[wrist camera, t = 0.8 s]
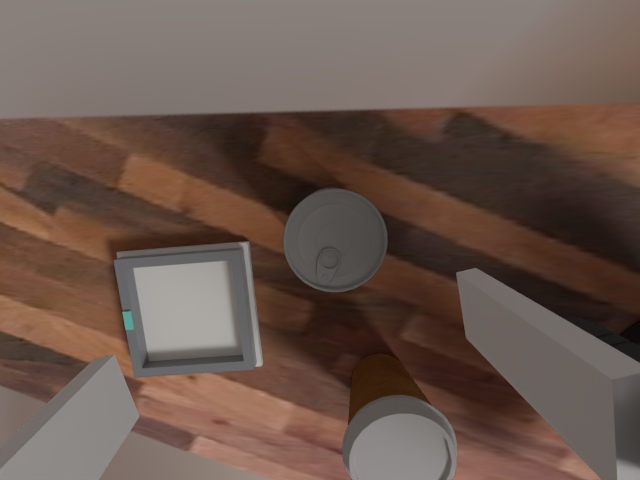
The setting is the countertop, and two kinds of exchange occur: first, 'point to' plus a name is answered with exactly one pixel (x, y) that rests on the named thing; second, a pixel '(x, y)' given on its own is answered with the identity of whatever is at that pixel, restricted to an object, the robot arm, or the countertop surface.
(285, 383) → the countertop surface
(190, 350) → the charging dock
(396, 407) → the disposable coffee cup
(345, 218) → the canned tomato
